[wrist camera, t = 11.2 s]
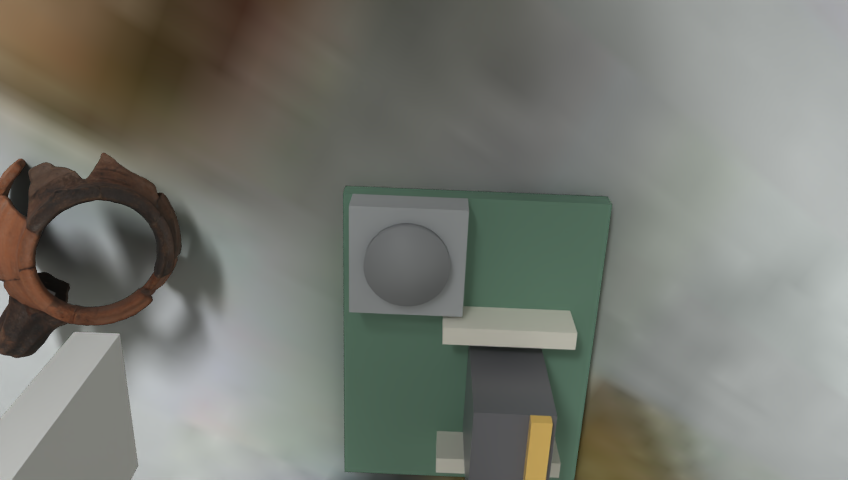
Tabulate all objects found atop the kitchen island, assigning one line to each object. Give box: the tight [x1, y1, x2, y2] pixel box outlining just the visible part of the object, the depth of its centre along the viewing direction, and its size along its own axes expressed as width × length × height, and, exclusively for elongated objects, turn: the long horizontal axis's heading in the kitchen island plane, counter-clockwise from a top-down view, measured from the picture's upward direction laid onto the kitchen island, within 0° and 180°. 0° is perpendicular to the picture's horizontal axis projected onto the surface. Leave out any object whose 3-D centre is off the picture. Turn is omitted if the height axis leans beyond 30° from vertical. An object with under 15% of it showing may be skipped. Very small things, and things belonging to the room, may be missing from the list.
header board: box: [343, 186, 612, 480], centre depth 43 cm, size 18×14×4 cm
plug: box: [463, 345, 557, 480], centre depth 41 cm, size 6×4×8 cm, turn 178°
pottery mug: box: [0, 153, 182, 358], centre depth 41 cm, size 12×10×8 cm
